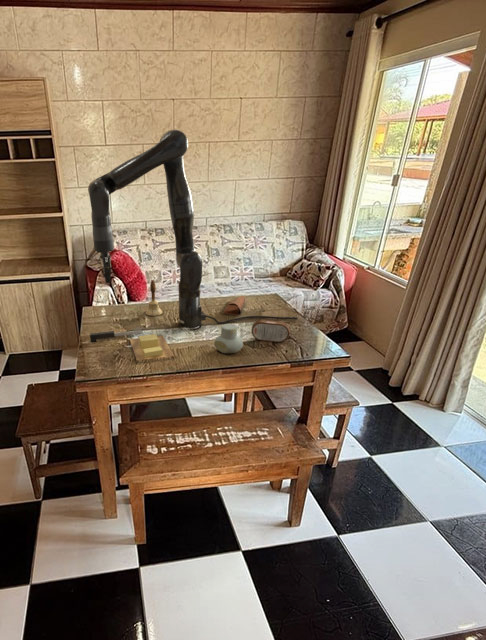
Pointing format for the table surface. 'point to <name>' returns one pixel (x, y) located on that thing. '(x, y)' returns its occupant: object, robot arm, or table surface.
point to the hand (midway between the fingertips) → (107, 279)
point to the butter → (148, 341)
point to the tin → (270, 330)
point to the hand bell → (153, 302)
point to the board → (140, 356)
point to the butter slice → (152, 351)
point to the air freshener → (228, 339)
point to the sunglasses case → (235, 306)
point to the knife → (110, 334)
